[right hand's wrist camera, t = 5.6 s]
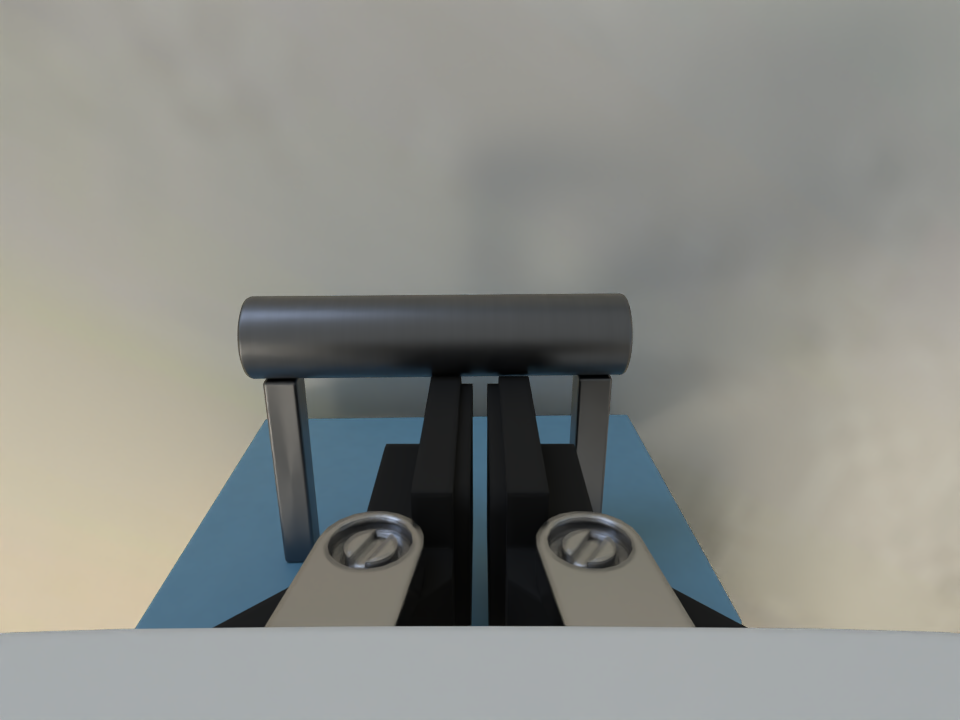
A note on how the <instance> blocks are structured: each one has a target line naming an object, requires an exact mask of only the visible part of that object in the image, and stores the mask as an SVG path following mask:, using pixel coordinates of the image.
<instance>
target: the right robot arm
mask: <svg viewBox="0 0 960 720" xmlns="http://www.w3.org/2000/svg"><path fill="white" fill-rule="evenodd" d="M472 569H473V384H461V376H432V377H431V382H430V388H429V393H428V399H427V404H426V410H425V415H424V421H423V427H422V432H421V438H420V443H419V444H386V446H385V448H384V452H383V455H382V459H381V462H380V466H379V470H378V473H377V477H376V480H375V484H374V487H373V491H372V495H371V498H370V502H369V505H368V509H367V512H363V513H358V514H353V515H351V516H348V517H345V518H343V519H340V520H338V521H337V522H335V523H334V524H332V525H331V526H329V527H327V529H326V530H325V531H324V532H323V533H322V534H321V535H320V537H319V538H318V540H317V541H316V543H315V545H314V546H313V548H312V550H311V551H310V553H309V555H308V556H307V558H306V560H305V561H304V563H303V564H302V566H301V568H300V569H299V571H298V573H297V574H296V576H295V578H294V579H293V581H292V583H291V584H290V586H289V587H288V588H286V589H284V590H282V591H280V592H279V593H277V594H275V595H273V596H271V597H269V598H267V599H265V600H264V601H262V602H260V603H258V604H256V605H254V606H252V607H250V608H249V609H247V610H245V611H243V612H241V613H239V614H237V615H235V616H234V617H232V618H230V619H228V620H226V621H224V622H222V623H220V624H219V625H217V626H215V627H213V628H167V629H105V630H74V631H43V632H13V633H0V720H960V633H948V632H920V631H885V630H850V629H811V628H747V627H745V626H743V625H741V624H740V623H738V622H736V621H734V620H732V619H730V618H728V617H726V616H725V615H723V614H721V613H719V612H717V611H715V610H713V609H711V608H709V607H708V606H706V605H704V604H702V603H700V602H698V601H696V600H694V599H693V598H691V597H689V596H687V595H685V594H683V593H681V592H679V591H678V590H676V589H674V588H672V587H671V586H670V584H669V583H668V581H667V579H666V578H665V576H664V574H663V573H662V571H661V569H660V568H659V566H658V564H657V563H656V561H655V560H654V558H653V556H652V555H651V553H650V551H649V550H648V548H647V546H646V545H645V543H644V541H643V540H642V538H641V537H640V535H639V534H638V533H637V532H636V531H635V530H634V529H633V527H631V526H629V525H628V524H626V523H625V522H623V521H622V520H620V519H617V518H615V517H612V516H609V515H607V514H602V513H597V512H593V509H592V506H591V502H590V498H589V495H588V491H587V488H586V484H585V480H584V477H583V473H582V470H581V466H580V463H579V459H578V455H577V452H576V448H575V446H574V444H540V438H539V432H538V427H537V421H536V416H535V410H534V405H533V399H532V393H531V388H530V382H529V377H528V376H499V384H487V571H488V626H472Z"/></svg>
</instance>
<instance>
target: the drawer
mask: <svg viewBox="0 0 960 720" xmlns="http://www.w3.org/2000/svg"><path fill="white" fill-rule="evenodd" d="M632 339H633V330H632V317H631V311H630V307H629V303H628V300H627V298H626V297H625V296H624V295H622V294H504V295H373V296H252V297H249V298H247V299H246V300H245V301H244V303H243V305H242V308H241V311H240V315H239V321H238V350H239V356H240V360H241V364H242V367H243V369H244V372H245V373H246V375H247V376H249V377H250V378H253V379H266V380H265V381H264V384H263V386H264V394H265V402H266V411H267V420H265V421H264V423H263V425H262V426H261V428H260V429H259V431H258V433H257V434H256V436H255V437H254V439H253V441H252V442H251V444H250V445H249V447H248V449H247V450H246V452H245V453H244V455H243V457H242V458H241V460H240V461H239V463H238V465H237V466H236V468H235V469H234V471H233V473H232V474H231V476H230V477H229V479H228V481H227V482H226V484H225V485H224V487H223V489H222V490H221V492H220V493H219V495H218V497H217V498H216V500H215V501H214V503H213V505H212V506H211V508H210V509H209V511H208V513H207V514H206V516H205V517H204V519H203V521H202V522H201V524H200V525H199V527H198V529H197V530H196V532H195V533H194V535H193V537H192V538H191V540H190V541H189V543H188V545H187V546H186V548H185V549H184V551H183V553H182V554H181V556H180V557H179V559H178V561H177V562H176V564H175V565H174V567H173V569H172V570H171V572H170V573H169V575H168V577H167V578H166V580H165V581H164V583H163V585H162V586H161V588H160V589H159V591H158V593H157V594H156V596H155V597H154V599H153V601H152V602H151V604H150V605H149V607H148V609H147V610H146V612H145V613H144V615H143V617H142V618H141V620H140V621H139V623H138V625H137V626H136V628H135V629H167V628H213V627H215V626H217V625H219V624H220V623H222V622H224V621H226V620H228V619H230V618H232V617H234V616H235V615H237V614H239V613H241V612H243V611H245V610H247V609H249V608H250V607H252V606H254V605H256V604H258V603H260V602H262V601H264V600H265V599H267V598H269V597H271V596H273V595H275V594H277V593H279V592H280V591H282V590H284V589H286V588H288V587H289V586H290V584H291V583H292V581H293V579H294V578H295V576H296V574H297V573H298V571H299V569H300V568H301V566H302V564H303V563H304V561H305V560H306V558H307V556H308V555H309V553H310V551H311V550H312V548H313V546H314V545H315V543H316V541H317V540H318V538H319V537H320V535H321V534H322V533H323V532H324V531H325V530H326V529H327V527H329V526H331V525H332V524H334V523H335V522H337V521H338V520H340V519H343V518H345V517H348V516H351V515H353V514H358V513H363V512H367V509H368V505H369V502H370V498H371V495H372V491H373V487H374V484H375V480H376V477H377V473H378V470H379V466H380V462H381V459H382V455H383V452H384V448H385V446H386V444H419V443H420V438H421V432H422V427H423V421H424V417H406V418H328V419H308V413H307V403H306V393H305V383H304V378H360V377H432V376H539V375H573V388H572V407H571V415H562V416H536V421H537V427H538V432H539V438H540V444H574V446H575V448H576V452H577V455H578V459H579V463H580V466H581V470H582V473H583V477H584V480H585V484H586V488H587V491H588V495H589V498H590V502H591V506H592V509H593V512H597V513H602V514H607V515H609V516H612V517H615V518H617V519H620V520H622V521H623V522H625V523H626V524H628V525H629V526H631V527H633V529H634V530H635V531H636V532H637V533H638V534H639V535H640V537H641V538H642V540H643V541H644V543H645V545H646V546H647V548H648V550H649V551H650V553H651V555H652V556H653V558H654V560H655V561H656V563H657V564H658V566H659V568H660V569H661V571H662V573H663V574H664V576H665V578H666V579H667V581H668V583H669V584H670V586H671V587H672V588H674V589H676V590H678V591H679V592H681V593H683V594H685V595H687V596H689V597H691V598H693V599H694V600H696V601H698V602H700V603H702V604H704V605H706V606H708V607H709V608H711V609H713V610H715V611H717V612H719V613H721V614H723V615H725V616H726V617H728V618H730V619H732V620H734V621H736V622H738V623H740V624H741V625H742V622H741V619H740V617H739V616H738V614H737V612H736V610H735V608H734V607H733V605H732V603H731V601H730V599H729V598H728V596H727V594H726V592H725V590H724V589H723V587H722V585H721V583H720V581H719V580H718V578H717V576H716V574H715V572H714V570H713V569H712V567H711V565H710V563H709V561H708V560H707V558H706V556H705V554H704V552H703V551H702V549H701V547H700V545H699V543H698V542H697V540H696V538H695V536H694V534H693V533H692V531H691V529H690V527H689V525H688V524H687V522H686V520H685V518H684V516H683V515H682V513H681V511H680V509H679V507H678V506H677V504H676V502H675V500H674V498H673V497H672V495H671V493H670V491H669V489H668V487H667V486H666V484H665V482H664V480H663V478H662V477H661V475H660V473H659V471H658V469H657V468H656V466H655V464H654V462H653V460H652V459H651V457H650V455H649V453H648V451H647V450H646V448H645V446H644V444H643V442H642V441H641V439H640V437H639V435H638V433H637V432H636V430H635V428H634V426H633V424H632V423H631V421H630V419H629V417H628V415H609V411H610V397H611V384H612V379H611V377H610V375H620V374H623V373H625V372H626V370H627V368H628V365H629V362H630V358H631V352H632ZM472 626H488V571H487V416H484V417H473V569H472Z"/></svg>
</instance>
